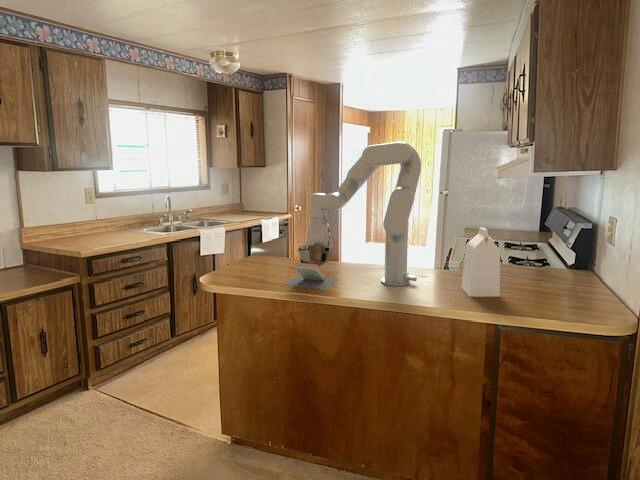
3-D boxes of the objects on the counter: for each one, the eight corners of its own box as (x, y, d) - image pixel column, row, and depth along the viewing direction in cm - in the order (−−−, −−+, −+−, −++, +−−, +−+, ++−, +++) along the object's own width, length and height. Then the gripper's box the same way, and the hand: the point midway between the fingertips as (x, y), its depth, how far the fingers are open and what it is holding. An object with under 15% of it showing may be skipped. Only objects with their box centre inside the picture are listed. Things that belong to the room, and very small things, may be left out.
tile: (325, 276, 199) (317, 264, 190) (324, 281, 198) (315, 269, 189) (305, 274, 203) (295, 262, 194) (303, 279, 202) (294, 267, 193)
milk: (461, 287, 189) (464, 226, 184) (489, 287, 188) (492, 226, 184) (469, 296, 177) (473, 231, 172) (499, 296, 177) (503, 231, 172)
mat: (339, 280, 201) (339, 279, 201) (324, 291, 186) (324, 289, 186) (299, 276, 209) (299, 275, 209) (281, 286, 194) (281, 284, 194)
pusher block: (328, 261, 209) (328, 242, 208) (317, 267, 198) (317, 247, 197) (320, 260, 211) (320, 241, 209) (309, 266, 200) (309, 246, 198)
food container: (323, 264, 233) (323, 245, 231) (322, 266, 227) (322, 247, 225) (299, 263, 234) (299, 244, 232) (298, 266, 228) (297, 247, 226)
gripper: (339, 220, 201) (339, 260, 204) (305, 219, 208) (306, 257, 211) (332, 223, 194) (333, 264, 198) (298, 221, 201) (299, 261, 204)
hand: (319, 260), depth 204 cm, fingers closed on pusher block, 4 cm apart
